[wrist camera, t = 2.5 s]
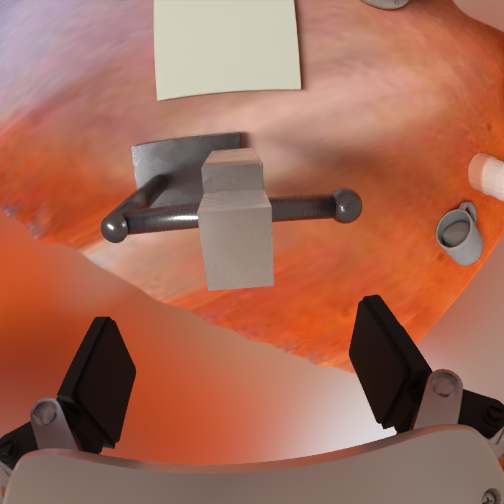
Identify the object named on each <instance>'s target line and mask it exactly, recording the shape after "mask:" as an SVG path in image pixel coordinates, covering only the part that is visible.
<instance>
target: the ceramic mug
mask: <svg viewBox="0 0 504 504" xmlns="http://www.w3.org/2000/svg"><path fill="white" fill-rule="evenodd" d="M467 207H468V210H469V212H470V215H469V214H468V213H467V212H466V211H465V210H466V208H467ZM476 221H477V216H476V210H475V207H474V205H473V204H472V203H471V202H462V203H461V204H460V207H459V209H455V210H452V211H450V212H448V213H447V214H445V215H444V216H443V217H442V219H441V220H440V222H439V223H438V226H437V229H436V238H437V241H438V243H439V244H440V246H441V247H442V248H443V249H444V250H445V251H446V252H447V253H448V254H449V255H450V256H451V258H452V259H453V260H454V261H455V262H457V263H458V264H460V265H464V266H467V265H472V264H473V263H475V262H476V261H477V260H478V259H479V258H480V256H481V254H482V252H483V240H482V237H481V234H480V232H479V231H478V229H477V227H476Z"/></svg>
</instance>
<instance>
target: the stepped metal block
mask: <svg viewBox="0 0 504 504" xmlns="http://www.w3.org/2000/svg"><path fill="white" fill-rule="evenodd" d="M201 172H202V181H203V190H204V195H203V197H202V200H201V203H200V206H199V209H198V212H197V216H198V224H199V231H200V238H201V245H202V252H203V259H204V266H205V272H206V278H207V285H208V291H211V290H225V289H238V288H251V287H263V286H274V274H273V236H272V207H271V204H270V202H269V200H268V197H267V195H266V193H265V190H264V182H263V163H262V162H261V160H260V159H259V157H258V155H257V154H256V152H255V151H254V149H253V148H244V149H230V150H219V151H212V152H211V153H210V155H209V156H208V158H207V160H206V161H205V163H204V164H203V166H202V168H201Z"/></svg>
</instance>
